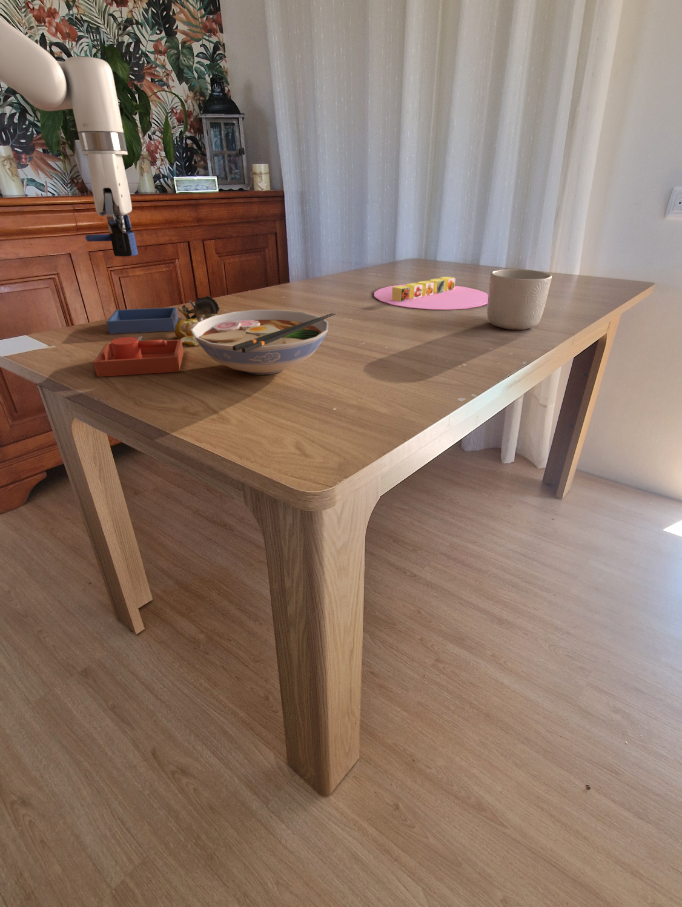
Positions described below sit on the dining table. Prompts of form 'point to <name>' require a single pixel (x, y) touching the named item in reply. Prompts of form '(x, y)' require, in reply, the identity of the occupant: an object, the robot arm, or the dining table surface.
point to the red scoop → (132, 347)
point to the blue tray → (142, 320)
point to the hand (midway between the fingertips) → (125, 253)
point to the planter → (517, 298)
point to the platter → (432, 295)
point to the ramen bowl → (261, 339)
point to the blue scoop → (107, 238)
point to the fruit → (186, 331)
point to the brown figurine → (201, 308)
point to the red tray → (141, 360)
